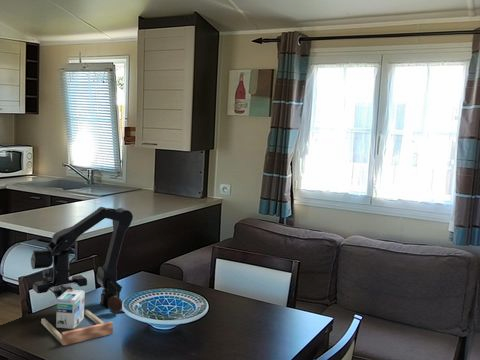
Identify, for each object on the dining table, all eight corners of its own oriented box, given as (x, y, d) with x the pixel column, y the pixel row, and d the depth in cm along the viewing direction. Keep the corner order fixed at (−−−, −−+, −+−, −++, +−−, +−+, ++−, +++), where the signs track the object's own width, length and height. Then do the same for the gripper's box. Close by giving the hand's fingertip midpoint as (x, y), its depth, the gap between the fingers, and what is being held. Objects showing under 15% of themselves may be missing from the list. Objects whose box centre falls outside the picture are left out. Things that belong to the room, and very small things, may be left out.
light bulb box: (74, 329, 172) (75, 300, 171) (55, 328, 172) (56, 298, 171) (84, 317, 183) (85, 290, 181) (66, 316, 183) (67, 288, 182)
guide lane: (87, 313, 187) (88, 303, 186) (112, 333, 171) (113, 322, 170) (41, 323, 175) (41, 312, 175) (63, 345, 159) (63, 334, 159)
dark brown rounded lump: (130, 309, 194) (131, 291, 193) (120, 316, 186) (121, 297, 186) (112, 306, 196) (113, 288, 195) (102, 313, 188) (102, 294, 188)
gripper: (76, 257, 195) (75, 294, 197) (28, 263, 183) (27, 303, 185) (88, 264, 187) (87, 303, 189) (38, 271, 175) (37, 313, 177)
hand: (60, 305), depth 185 cm, fingers closed
